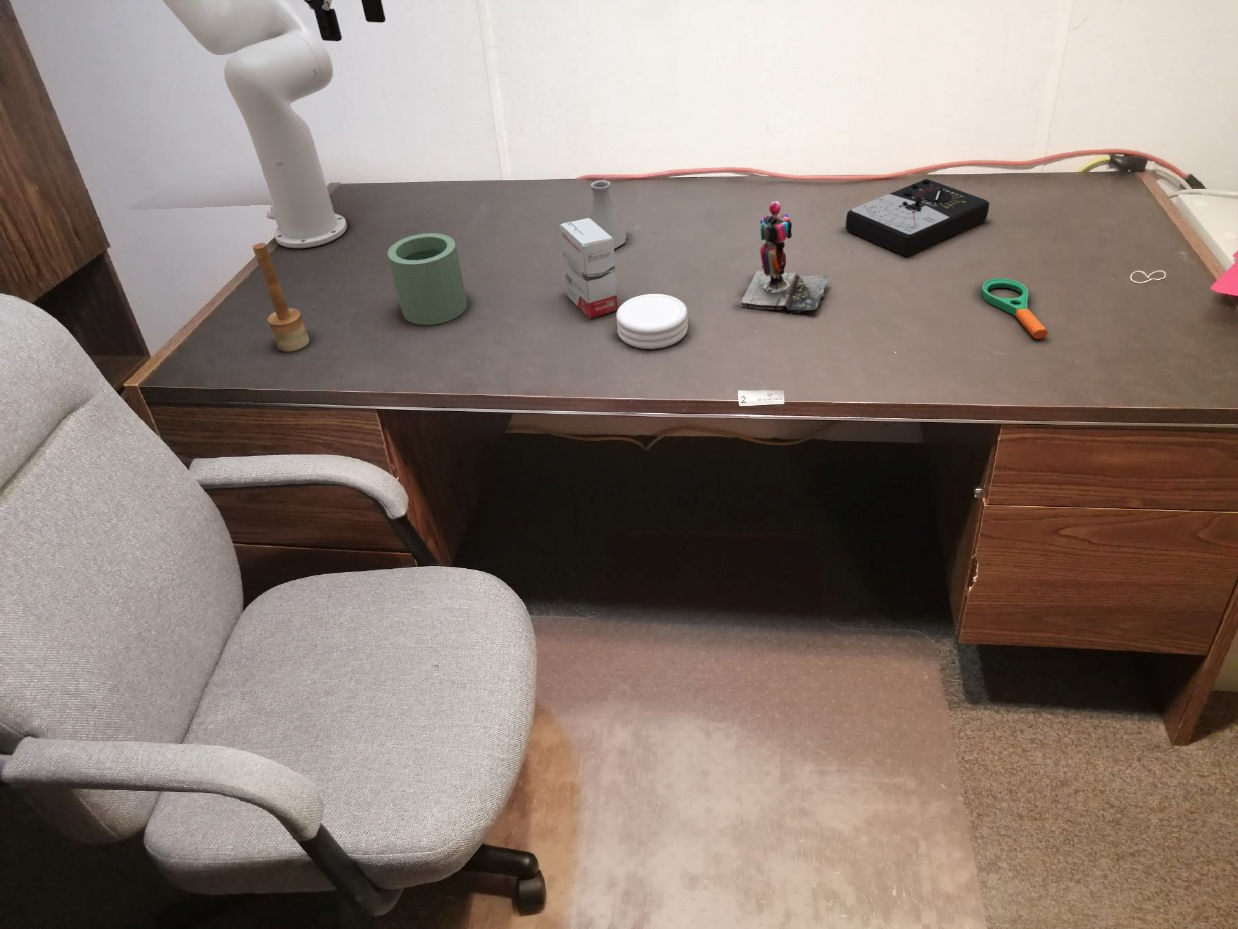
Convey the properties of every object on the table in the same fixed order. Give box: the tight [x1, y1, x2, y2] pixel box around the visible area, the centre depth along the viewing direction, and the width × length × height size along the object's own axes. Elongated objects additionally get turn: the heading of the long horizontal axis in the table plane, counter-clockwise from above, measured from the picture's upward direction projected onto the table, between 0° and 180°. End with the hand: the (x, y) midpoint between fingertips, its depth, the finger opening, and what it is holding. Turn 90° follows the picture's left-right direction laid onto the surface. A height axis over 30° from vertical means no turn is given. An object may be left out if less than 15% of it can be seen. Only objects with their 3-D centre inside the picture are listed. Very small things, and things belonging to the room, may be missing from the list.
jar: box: [387, 232, 468, 326], centre depth 133 cm, size 10×10×10 cm
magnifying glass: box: [981, 277, 1049, 339], centre depth 123 cm, size 15×6×2 cm, turn 3°
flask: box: [589, 179, 627, 250], centre depth 146 cm, size 7×7×10 cm
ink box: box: [559, 217, 619, 319], centre depth 130 cm, size 8×5×12 cm, turn 26°
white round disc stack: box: [615, 293, 689, 350], centre depth 125 cm, size 10×10×4 cm
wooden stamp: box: [252, 242, 310, 352], centre depth 126 cm, size 5×5×16 cm
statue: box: [740, 200, 830, 314], centre depth 127 cm, size 11×9×15 cm
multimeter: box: [845, 178, 990, 257], centre depth 144 cm, size 13×19×5 cm
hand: (354, 30), depth 126 cm, fingers open, 9 cm apart
